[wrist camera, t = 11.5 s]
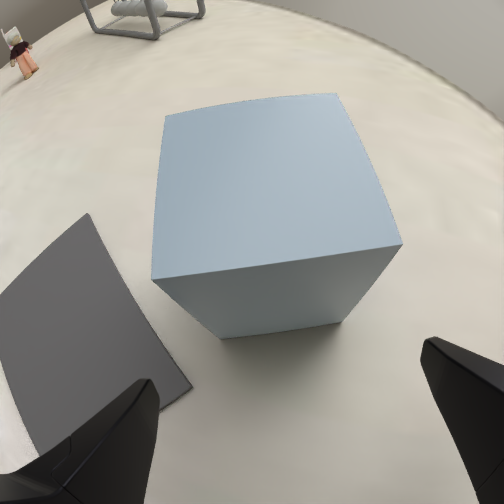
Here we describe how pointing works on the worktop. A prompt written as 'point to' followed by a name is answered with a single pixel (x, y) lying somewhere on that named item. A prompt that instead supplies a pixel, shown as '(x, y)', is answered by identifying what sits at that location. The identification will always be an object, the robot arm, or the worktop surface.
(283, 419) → the worktop surface
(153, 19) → the newton's cradle
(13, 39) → the grandmother figurine
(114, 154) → the worktop surface
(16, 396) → the mat
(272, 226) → the cover
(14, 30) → the ink cartridge box
